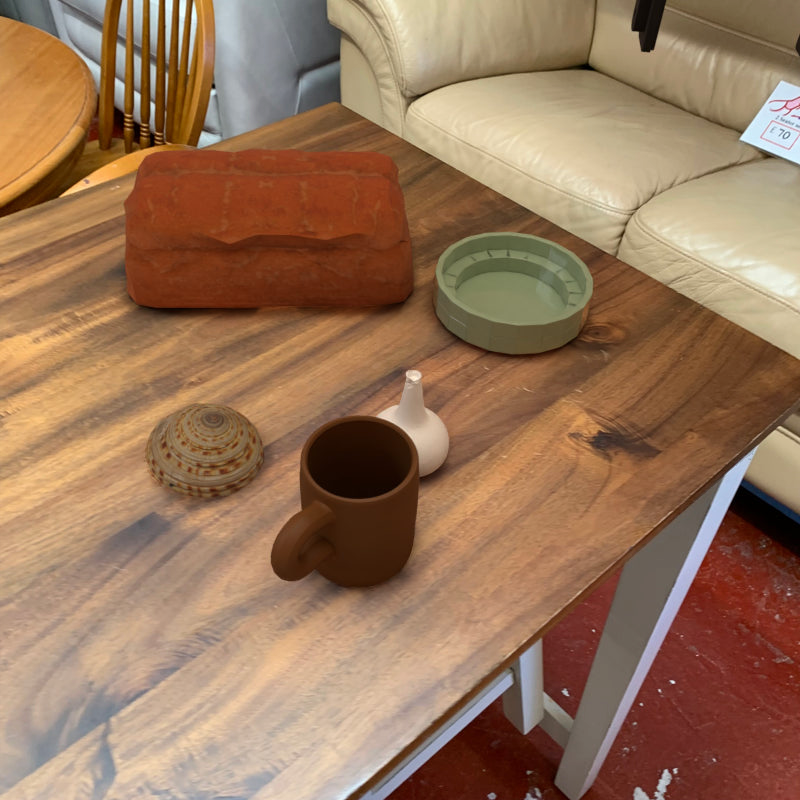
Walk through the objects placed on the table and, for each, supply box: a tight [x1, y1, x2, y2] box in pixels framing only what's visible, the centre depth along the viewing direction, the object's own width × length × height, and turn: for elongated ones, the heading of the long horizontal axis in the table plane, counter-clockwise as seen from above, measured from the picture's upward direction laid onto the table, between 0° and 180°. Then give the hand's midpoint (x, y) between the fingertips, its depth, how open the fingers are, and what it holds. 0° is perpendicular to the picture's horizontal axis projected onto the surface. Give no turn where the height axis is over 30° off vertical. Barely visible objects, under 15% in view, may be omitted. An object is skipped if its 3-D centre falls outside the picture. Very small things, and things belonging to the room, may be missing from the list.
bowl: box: [432, 231, 594, 355], centre depth 76 cm, size 14×14×4 cm
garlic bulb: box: [375, 369, 450, 478], centre depth 61 cm, size 6×6×8 cm
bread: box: [123, 148, 415, 309], centre depth 77 cm, size 16×27×11 cm, turn 94°
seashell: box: [145, 402, 265, 499], centre depth 62 cm, size 8×6×8 cm
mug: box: [270, 414, 420, 589], centre depth 53 cm, size 12×8×9 cm, turn 146°
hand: (724, 51), depth 51 cm, fingers open, 9 cm apart
